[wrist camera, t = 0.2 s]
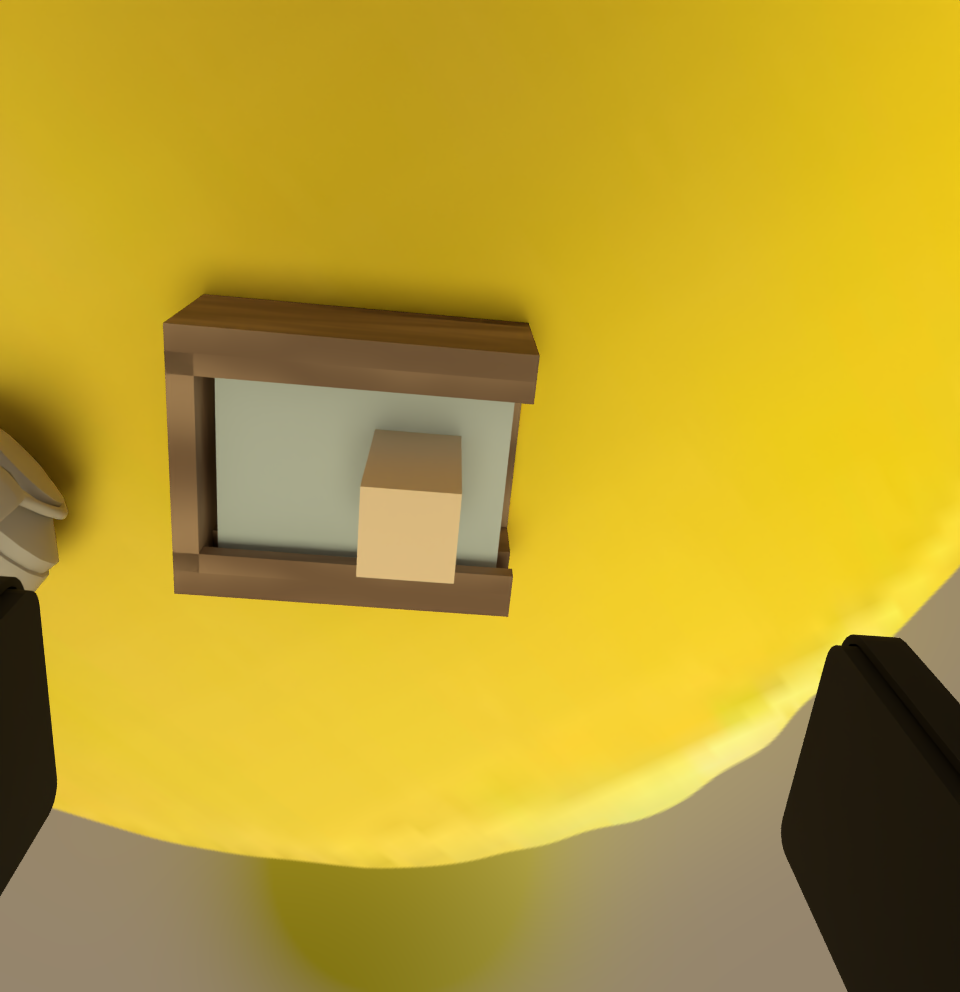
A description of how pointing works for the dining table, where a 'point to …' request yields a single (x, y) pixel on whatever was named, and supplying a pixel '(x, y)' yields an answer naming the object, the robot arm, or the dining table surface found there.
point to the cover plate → (362, 476)
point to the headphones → (27, 515)
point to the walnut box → (338, 364)
